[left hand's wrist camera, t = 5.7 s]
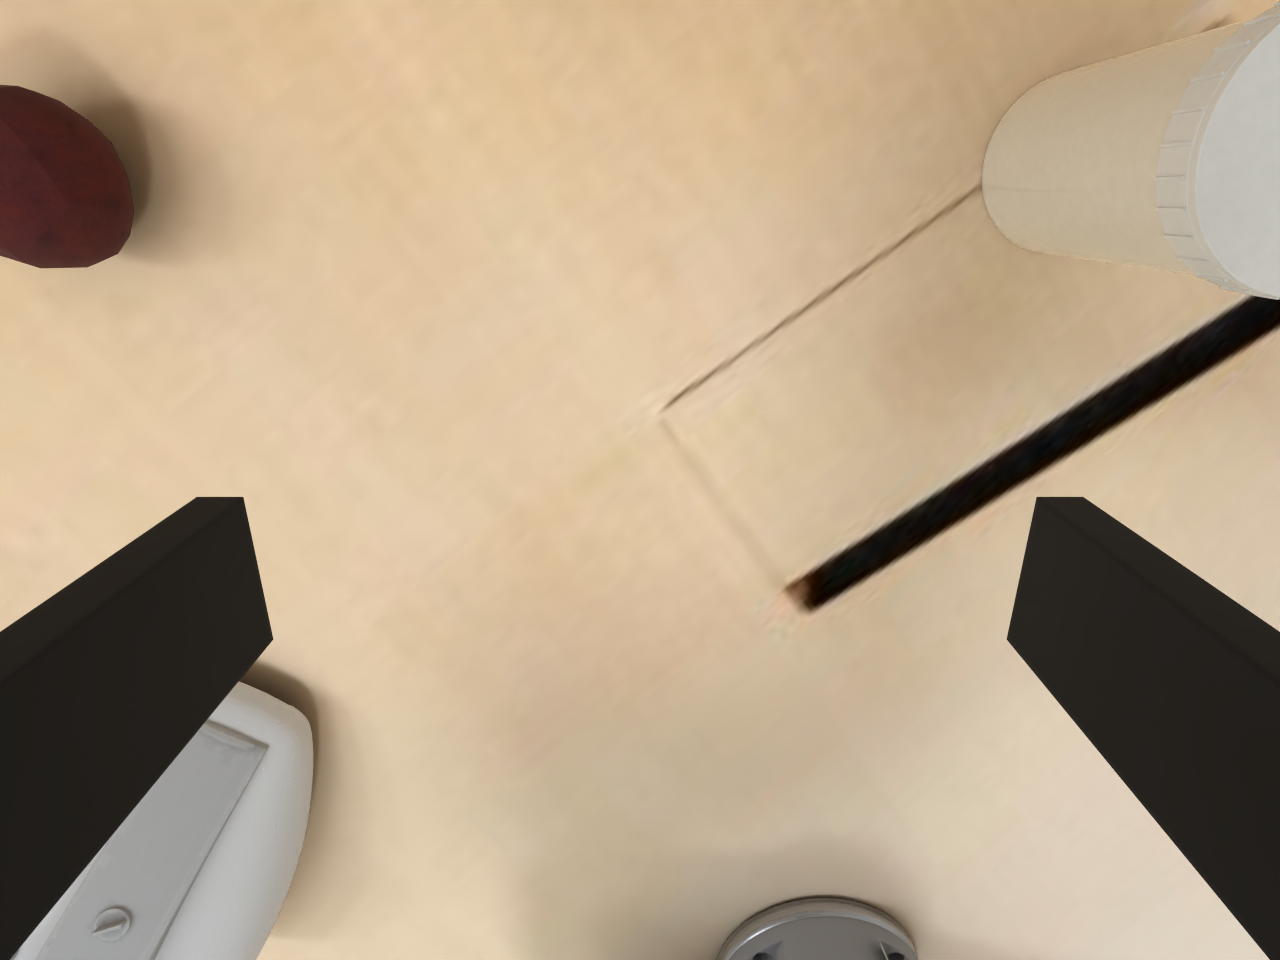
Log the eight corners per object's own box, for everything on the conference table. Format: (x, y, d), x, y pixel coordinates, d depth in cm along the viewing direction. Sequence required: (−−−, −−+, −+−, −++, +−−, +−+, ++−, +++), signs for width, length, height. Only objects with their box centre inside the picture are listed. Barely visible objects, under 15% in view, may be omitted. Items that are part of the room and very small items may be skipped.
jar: (1144, 241, 37) (1445, 270, 23) (978, 264, 38) (1177, 306, 24) (1164, 56, 34) (1523, -37, 20) (984, 83, 35) (1214, 10, 21)
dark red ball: (78, 62, 34) (-56, 31, 28) (201, 210, 37) (104, 214, 30) (-25, 158, 36) (-175, 150, 29) (99, 294, 38) (-14, 316, 31)
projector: (421, 889, 53) (345, 1129, 40) (141, 955, 56) (-21, 1203, 42) (276, 638, 46) (121, 829, 32) (-41, 729, 48) (-311, 941, 34)
